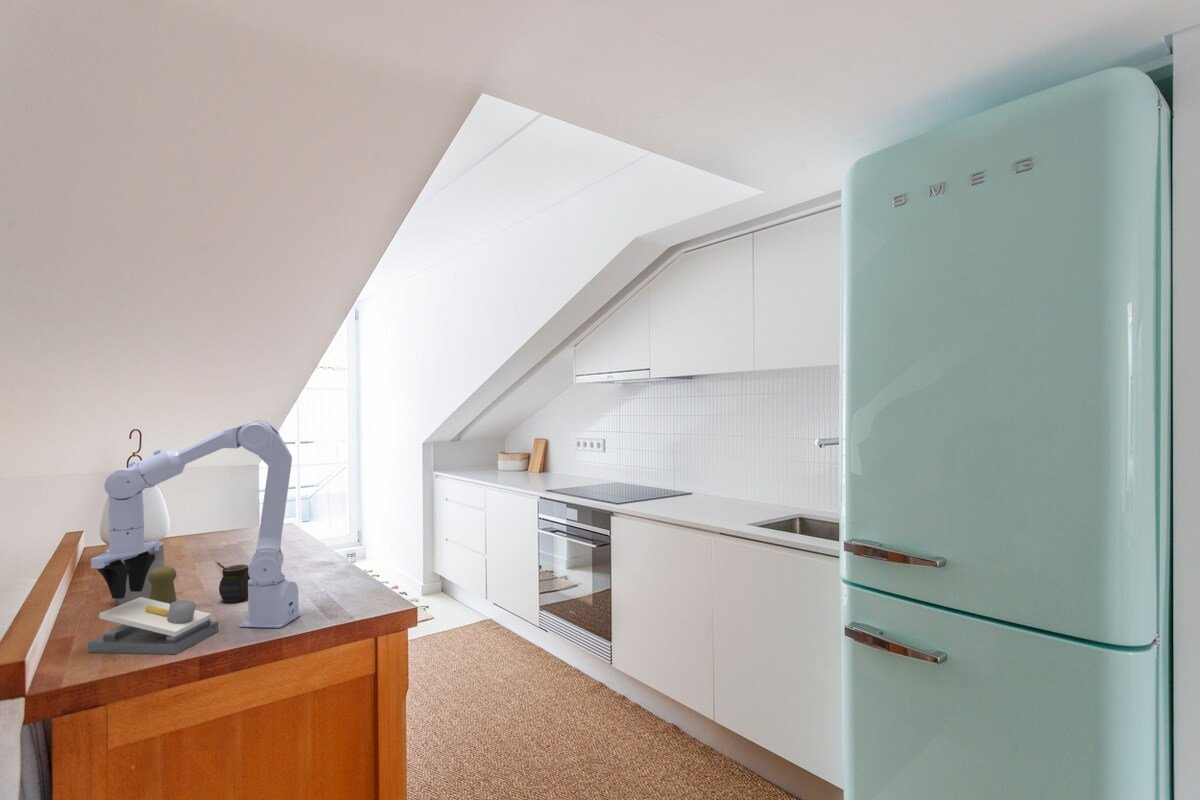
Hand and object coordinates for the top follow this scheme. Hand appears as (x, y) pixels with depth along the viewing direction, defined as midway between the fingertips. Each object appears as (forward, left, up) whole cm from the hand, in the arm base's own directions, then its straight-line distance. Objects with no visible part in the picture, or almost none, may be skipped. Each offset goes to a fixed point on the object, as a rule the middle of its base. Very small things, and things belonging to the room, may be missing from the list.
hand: (127, 594), depth 128 cm
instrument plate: (-6, 0, -5) cm, 8 cm away
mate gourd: (-5, -26, -10) cm, 28 cm away
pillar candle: (+18, -24, -10) cm, 31 cm away
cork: (+4, -14, -10) cm, 17 cm away
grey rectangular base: (-6, 0, -9) cm, 11 cm away
